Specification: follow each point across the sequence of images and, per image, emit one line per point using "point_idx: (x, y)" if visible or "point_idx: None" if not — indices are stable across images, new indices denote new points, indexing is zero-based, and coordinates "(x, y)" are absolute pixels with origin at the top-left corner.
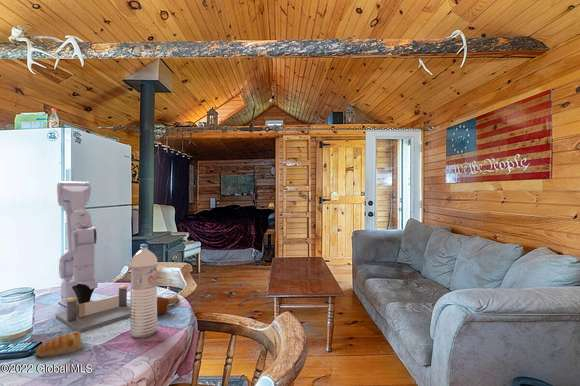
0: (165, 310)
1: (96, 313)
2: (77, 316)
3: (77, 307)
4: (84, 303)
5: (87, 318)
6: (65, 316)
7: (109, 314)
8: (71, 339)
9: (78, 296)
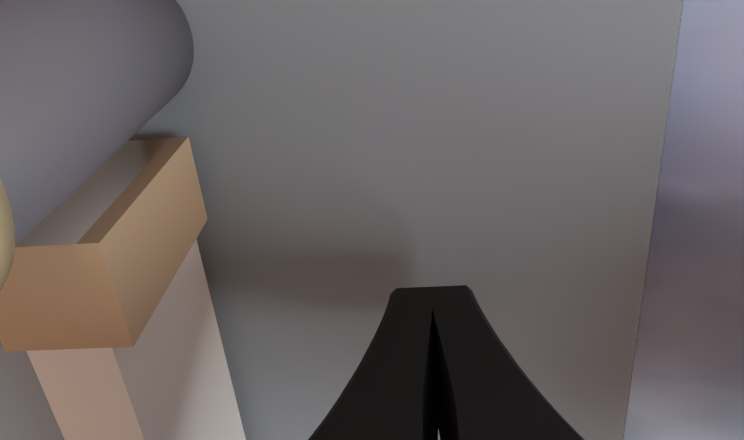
0: None
1: None
2: (150, 140)
3: (77, 216)
4: (81, 364)
5: None
6: (408, 14)
7: (36, 431)
8: None
9: (409, 429)
